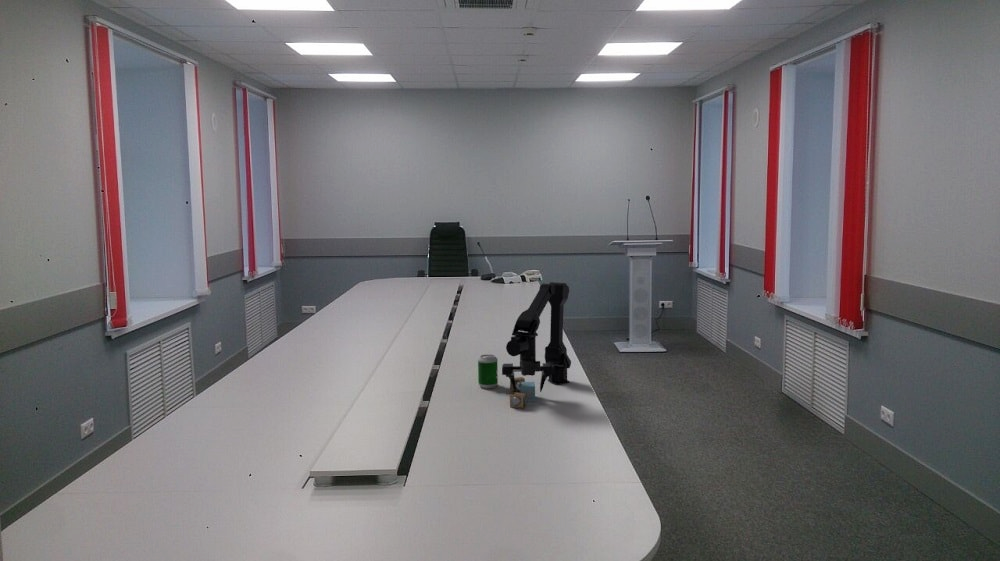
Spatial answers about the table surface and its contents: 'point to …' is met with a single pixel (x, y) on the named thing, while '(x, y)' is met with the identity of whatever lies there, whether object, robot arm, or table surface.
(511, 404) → the shaft
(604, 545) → the table surface
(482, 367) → the soda can
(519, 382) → the shaft
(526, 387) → the light blue block
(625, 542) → the table surface
